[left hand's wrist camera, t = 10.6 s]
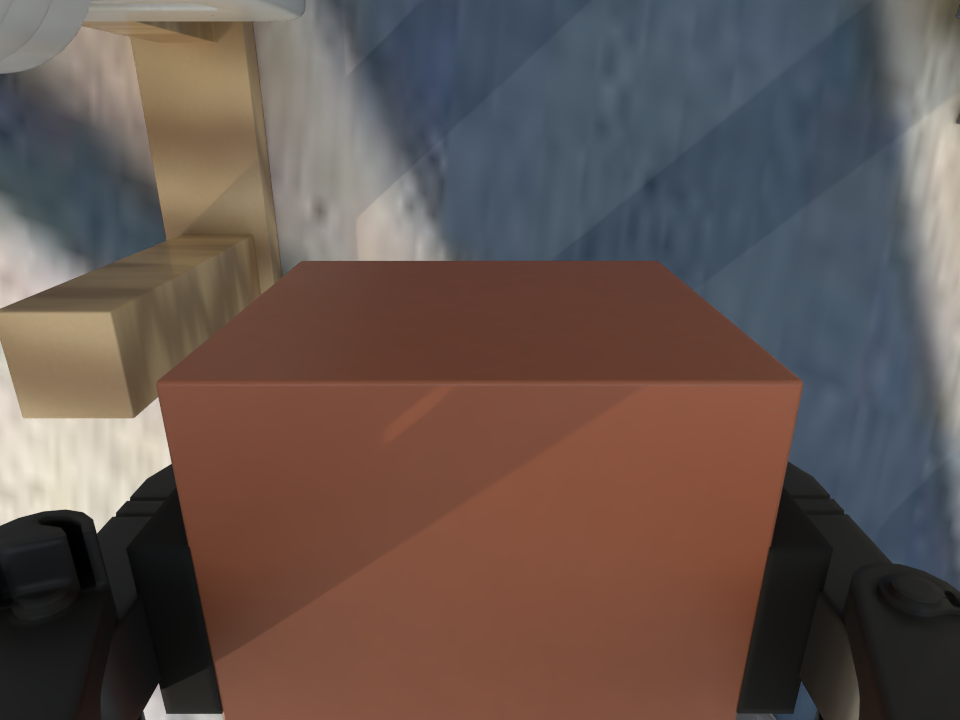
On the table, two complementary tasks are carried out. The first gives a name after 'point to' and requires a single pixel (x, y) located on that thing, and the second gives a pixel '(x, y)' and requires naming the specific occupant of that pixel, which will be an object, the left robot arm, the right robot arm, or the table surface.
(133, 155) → the table surface
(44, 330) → the stand
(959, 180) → the table surface
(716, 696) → the terracotta cube
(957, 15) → the toy
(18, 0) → the right robot arm
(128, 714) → the left robot arm
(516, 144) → the table surface
